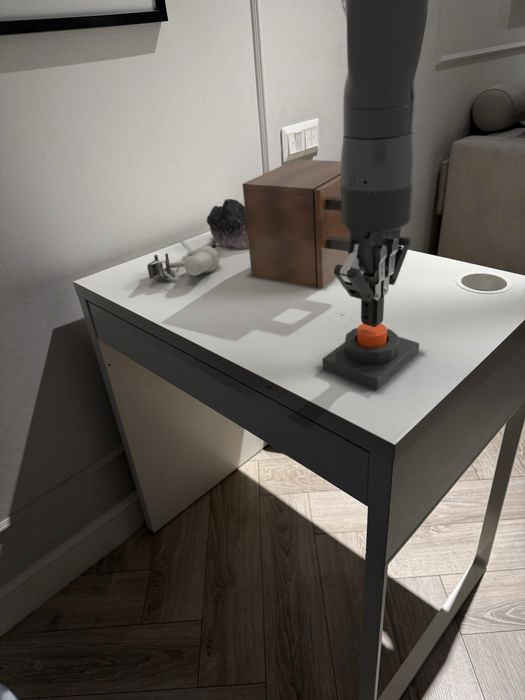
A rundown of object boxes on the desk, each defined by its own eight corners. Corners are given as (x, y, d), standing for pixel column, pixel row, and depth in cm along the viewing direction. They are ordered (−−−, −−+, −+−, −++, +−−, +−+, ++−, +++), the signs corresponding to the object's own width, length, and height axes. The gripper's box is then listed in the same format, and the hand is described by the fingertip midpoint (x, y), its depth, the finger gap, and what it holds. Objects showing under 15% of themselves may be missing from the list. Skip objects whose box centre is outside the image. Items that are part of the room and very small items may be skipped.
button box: (365, 339, 72) (366, 314, 70) (418, 357, 68) (420, 330, 65) (322, 373, 66) (322, 346, 64) (377, 394, 62) (378, 366, 59)
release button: (367, 331, 67) (367, 319, 66) (391, 339, 65) (392, 327, 64) (351, 343, 65) (351, 331, 64) (376, 351, 63) (376, 339, 62)
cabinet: (358, 253, 100) (360, 161, 91) (316, 290, 87) (312, 188, 79) (299, 245, 106) (295, 159, 98) (252, 279, 94) (242, 183, 85)
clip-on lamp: (179, 269, 109) (145, 287, 92) (173, 238, 107) (137, 251, 90) (233, 263, 106) (208, 280, 89) (228, 231, 104) (201, 243, 88)
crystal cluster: (272, 230, 118) (265, 185, 114) (276, 245, 106) (268, 196, 102) (214, 240, 119) (205, 196, 114) (212, 257, 107) (201, 208, 102)
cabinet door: (394, 257, 96) (399, 164, 88) (355, 296, 84) (355, 192, 75) (360, 252, 100) (361, 162, 91) (317, 290, 87) (314, 189, 78)
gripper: (373, 199, 48) (369, 356, 57) (439, 168, 56) (426, 310, 65) (309, 190, 53) (314, 337, 62) (378, 162, 61) (374, 296, 70)
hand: (372, 323), depth 64 cm, fingers closed
